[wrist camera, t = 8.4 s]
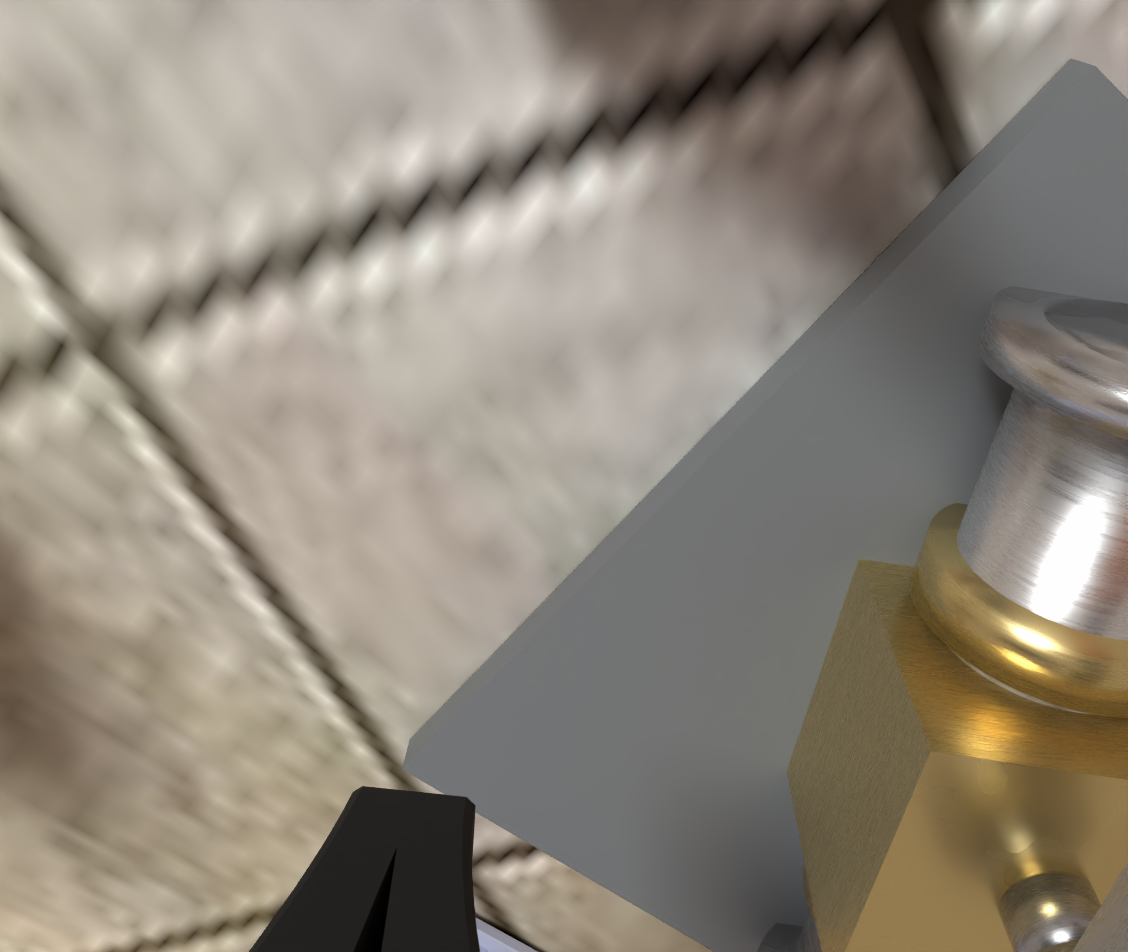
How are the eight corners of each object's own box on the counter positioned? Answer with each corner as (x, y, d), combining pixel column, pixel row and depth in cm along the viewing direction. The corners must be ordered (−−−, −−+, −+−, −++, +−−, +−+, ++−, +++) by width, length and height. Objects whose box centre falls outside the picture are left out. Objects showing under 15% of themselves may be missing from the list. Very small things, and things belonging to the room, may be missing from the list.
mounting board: (867, 1012, 29) (874, 1045, 28) (409, 739, 25) (402, 769, 24) (1573, 570, 21) (1614, 598, 20) (1071, 58, 17) (1095, 66, 16)
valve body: (946, 941, 27) (1053, 1276, 21) (727, 911, 27) (762, 1238, 20) (1260, 312, 19) (1622, 533, 12) (941, 263, 18) (1125, 458, 12)
